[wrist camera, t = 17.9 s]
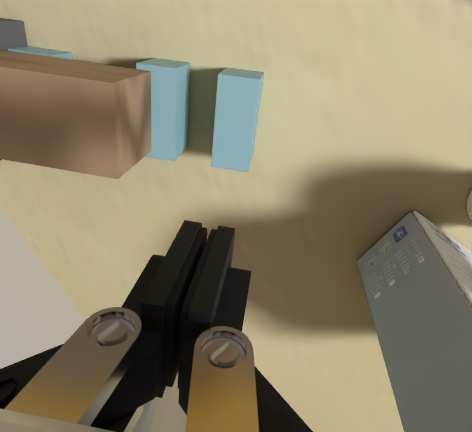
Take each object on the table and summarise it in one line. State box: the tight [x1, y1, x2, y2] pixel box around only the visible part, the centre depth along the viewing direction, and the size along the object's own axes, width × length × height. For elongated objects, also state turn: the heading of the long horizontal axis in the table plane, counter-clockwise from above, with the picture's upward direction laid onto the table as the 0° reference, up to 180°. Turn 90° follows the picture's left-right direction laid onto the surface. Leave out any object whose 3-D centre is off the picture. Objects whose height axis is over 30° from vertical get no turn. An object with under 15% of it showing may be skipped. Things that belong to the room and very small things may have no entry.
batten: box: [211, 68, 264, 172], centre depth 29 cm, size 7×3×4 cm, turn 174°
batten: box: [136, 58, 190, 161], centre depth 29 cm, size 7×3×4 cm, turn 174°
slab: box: [0, 50, 151, 179], centre depth 25 cm, size 6×12×6 cm, turn 84°
